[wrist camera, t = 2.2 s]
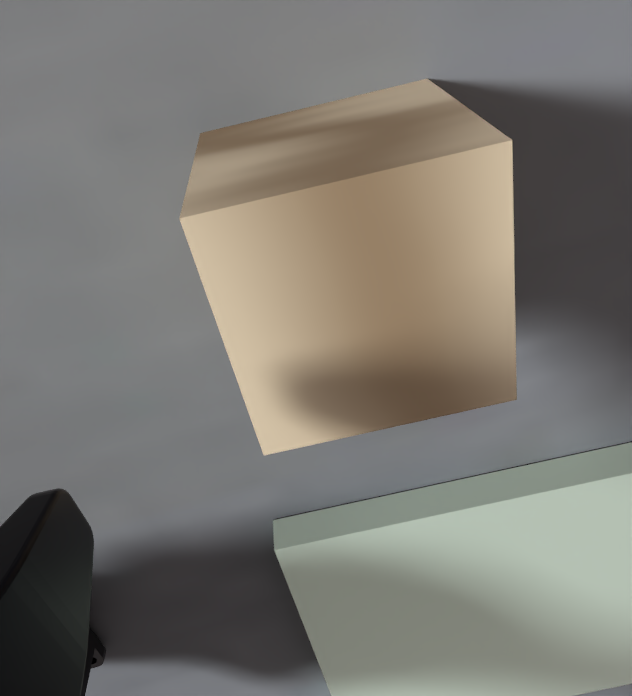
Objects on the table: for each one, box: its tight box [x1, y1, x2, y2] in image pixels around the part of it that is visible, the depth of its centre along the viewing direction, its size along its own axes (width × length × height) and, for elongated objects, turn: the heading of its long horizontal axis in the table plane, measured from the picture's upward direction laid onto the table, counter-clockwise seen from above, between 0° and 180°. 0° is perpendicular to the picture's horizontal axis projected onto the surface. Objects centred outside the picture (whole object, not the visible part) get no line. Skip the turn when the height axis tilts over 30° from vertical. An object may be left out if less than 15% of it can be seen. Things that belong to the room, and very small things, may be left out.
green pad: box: [273, 442, 632, 696], centre depth 23 cm, size 14×14×1 cm
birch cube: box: [179, 79, 517, 455], centre depth 12 cm, size 5×5×5 cm
